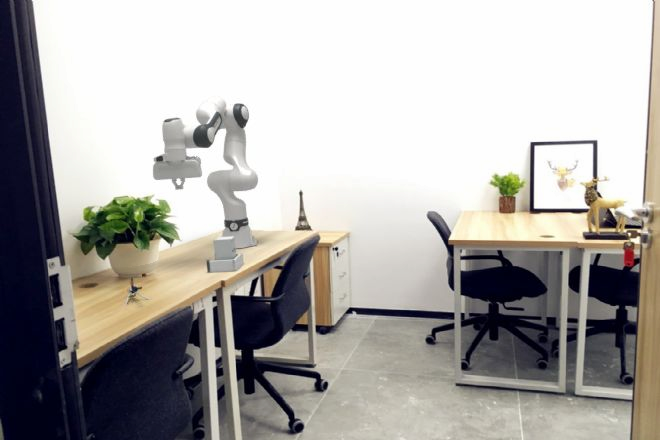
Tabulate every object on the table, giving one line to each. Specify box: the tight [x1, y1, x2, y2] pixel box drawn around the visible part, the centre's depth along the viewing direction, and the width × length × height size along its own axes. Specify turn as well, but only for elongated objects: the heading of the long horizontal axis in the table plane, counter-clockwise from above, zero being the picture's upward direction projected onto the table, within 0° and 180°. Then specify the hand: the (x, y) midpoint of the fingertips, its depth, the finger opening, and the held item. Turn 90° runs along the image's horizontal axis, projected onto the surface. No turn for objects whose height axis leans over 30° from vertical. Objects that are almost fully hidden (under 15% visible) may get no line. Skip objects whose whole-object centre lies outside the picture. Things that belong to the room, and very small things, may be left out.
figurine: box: [123, 277, 151, 307], centre depth 167 cm, size 10×9×20 cm
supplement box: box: [213, 236, 237, 261], centre depth 206 cm, size 7×7×13 cm
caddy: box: [205, 252, 244, 273], centre depth 206 cm, size 13×12×5 cm
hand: (179, 189), depth 212 cm, fingers closed
